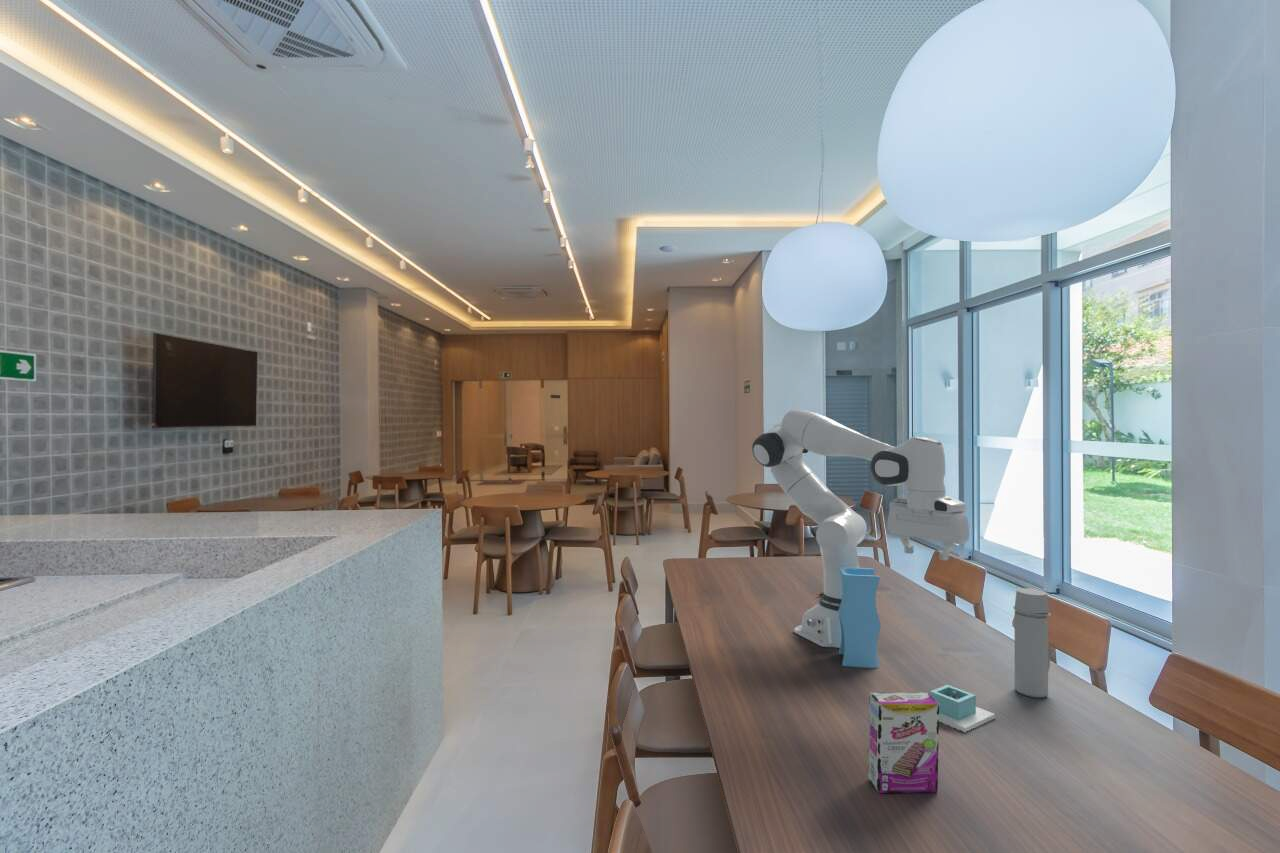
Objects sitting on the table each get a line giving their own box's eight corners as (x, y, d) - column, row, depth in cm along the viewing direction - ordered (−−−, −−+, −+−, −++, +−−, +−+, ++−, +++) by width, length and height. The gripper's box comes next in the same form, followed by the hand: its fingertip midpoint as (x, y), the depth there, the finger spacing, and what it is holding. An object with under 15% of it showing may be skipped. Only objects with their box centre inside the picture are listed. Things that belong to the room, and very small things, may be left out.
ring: (929, 708, 142) (929, 691, 142) (947, 701, 146) (947, 684, 146) (958, 720, 136) (958, 702, 136) (975, 712, 140) (975, 695, 140)
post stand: (914, 711, 143) (914, 688, 143) (944, 698, 150) (944, 677, 150) (965, 732, 133) (965, 708, 133) (994, 718, 139) (994, 695, 139)
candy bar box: (878, 795, 110) (878, 703, 110) (867, 779, 115) (867, 691, 115) (940, 794, 111) (940, 702, 111) (926, 778, 116) (926, 690, 116)
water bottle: (1033, 701, 148) (1033, 596, 148) (1005, 688, 156) (1005, 588, 155) (1063, 697, 150) (1063, 594, 150) (1034, 684, 158) (1034, 586, 158)
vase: (880, 668, 168) (880, 576, 168) (842, 665, 170) (842, 574, 170) (874, 655, 178) (874, 568, 178) (838, 653, 180) (838, 566, 180)
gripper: (882, 498, 163) (882, 550, 163) (957, 506, 145) (957, 565, 145) (896, 496, 166) (896, 548, 166) (972, 504, 149) (972, 562, 149)
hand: (926, 556), depth 156 cm, fingers open, 8 cm apart
